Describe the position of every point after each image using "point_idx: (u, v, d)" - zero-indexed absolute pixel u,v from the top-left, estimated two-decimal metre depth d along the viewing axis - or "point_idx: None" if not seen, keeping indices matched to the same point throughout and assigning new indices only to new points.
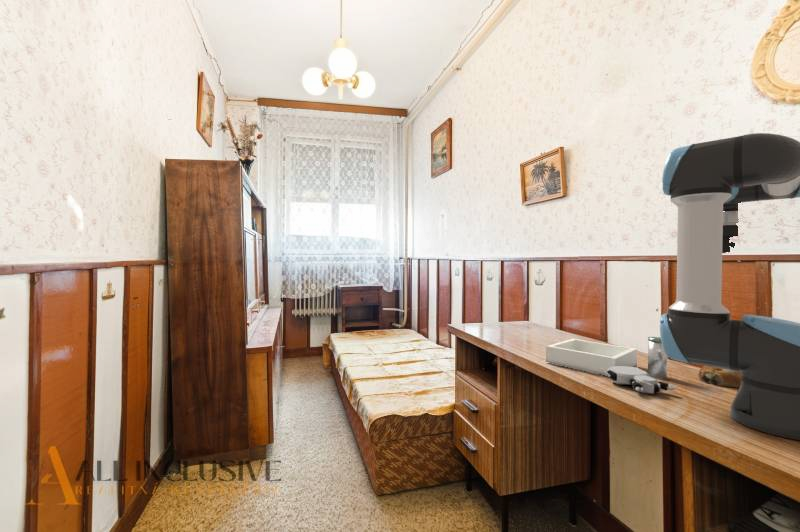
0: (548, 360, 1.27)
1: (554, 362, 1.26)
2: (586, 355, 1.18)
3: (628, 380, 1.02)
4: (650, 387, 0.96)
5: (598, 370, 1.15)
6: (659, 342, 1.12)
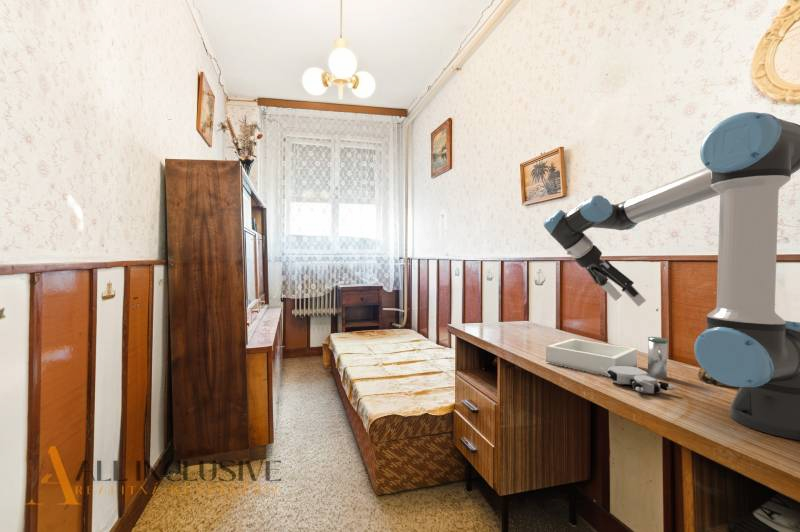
0: (548, 360, 1.27)
1: (554, 362, 1.26)
2: (586, 355, 1.18)
3: (628, 380, 1.02)
4: (650, 387, 0.96)
5: (598, 370, 1.15)
6: (659, 342, 1.12)
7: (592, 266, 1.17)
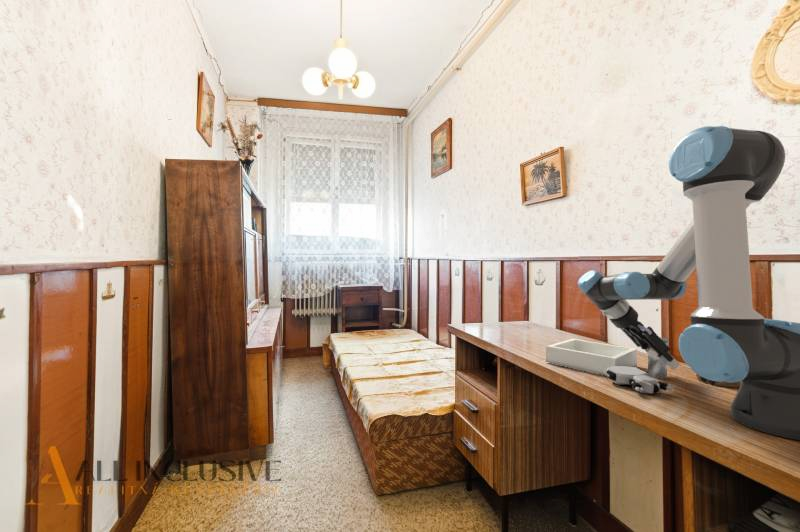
0: (548, 360, 1.27)
1: (554, 362, 1.26)
2: (586, 355, 1.18)
3: (627, 380, 1.02)
4: (650, 387, 0.96)
5: (598, 370, 1.15)
6: None
7: None
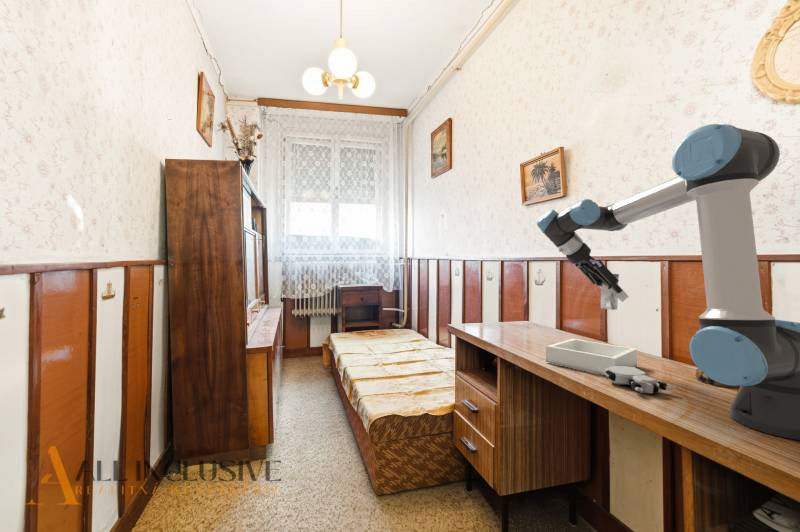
0: (548, 360, 1.27)
1: (554, 362, 1.26)
2: (586, 355, 1.18)
3: (627, 380, 1.02)
4: (649, 387, 0.96)
5: (598, 370, 1.15)
6: None
7: None
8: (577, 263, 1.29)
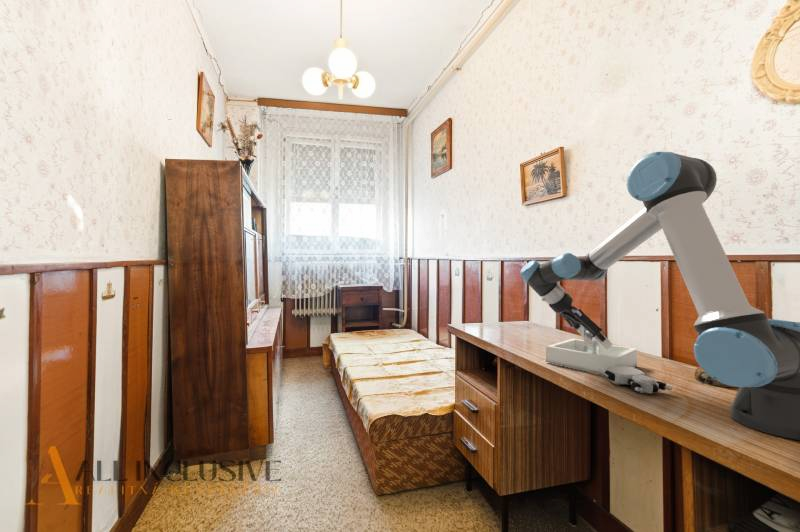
0: (548, 360, 1.27)
1: (554, 362, 1.26)
2: (586, 355, 1.18)
3: (626, 380, 1.02)
4: (649, 387, 0.96)
5: (598, 370, 1.15)
6: None
7: (563, 310, 1.27)
8: None
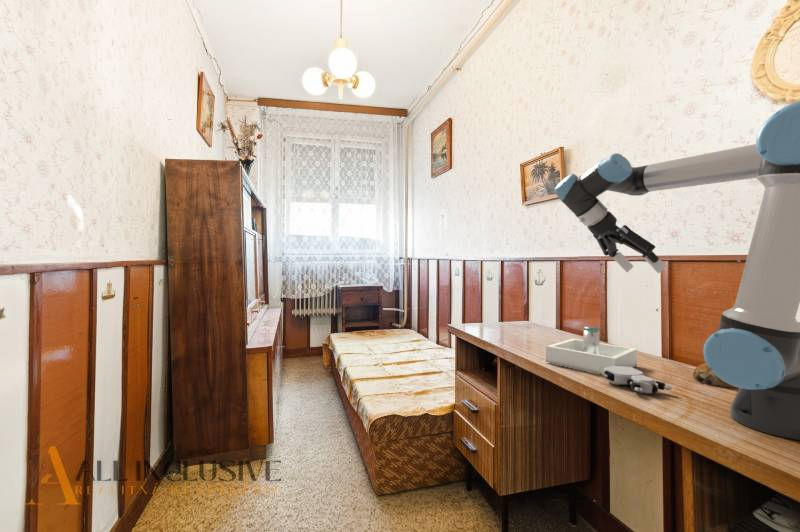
0: (548, 360, 1.27)
1: (554, 362, 1.26)
2: (586, 355, 1.18)
3: (625, 380, 1.02)
4: (648, 387, 0.96)
5: (598, 370, 1.15)
6: (591, 330, 1.25)
7: (606, 234, 1.09)
8: None
